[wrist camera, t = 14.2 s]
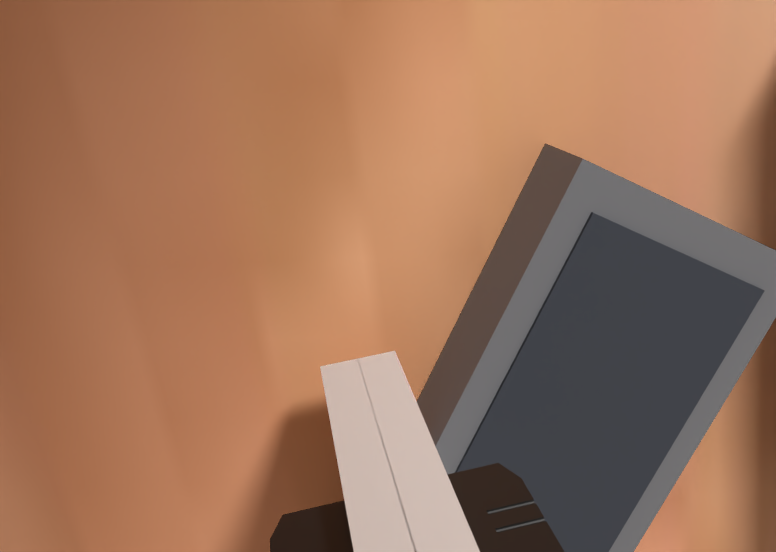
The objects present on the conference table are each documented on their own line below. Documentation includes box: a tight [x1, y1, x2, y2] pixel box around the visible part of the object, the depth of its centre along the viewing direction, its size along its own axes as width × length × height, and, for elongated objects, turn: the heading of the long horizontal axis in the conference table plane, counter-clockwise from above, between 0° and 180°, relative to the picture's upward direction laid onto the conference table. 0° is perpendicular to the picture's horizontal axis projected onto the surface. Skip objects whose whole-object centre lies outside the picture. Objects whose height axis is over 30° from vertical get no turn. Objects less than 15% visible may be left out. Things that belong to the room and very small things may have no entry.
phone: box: [417, 144, 776, 552], centre depth 16 cm, size 10×6×2 cm, turn 155°
